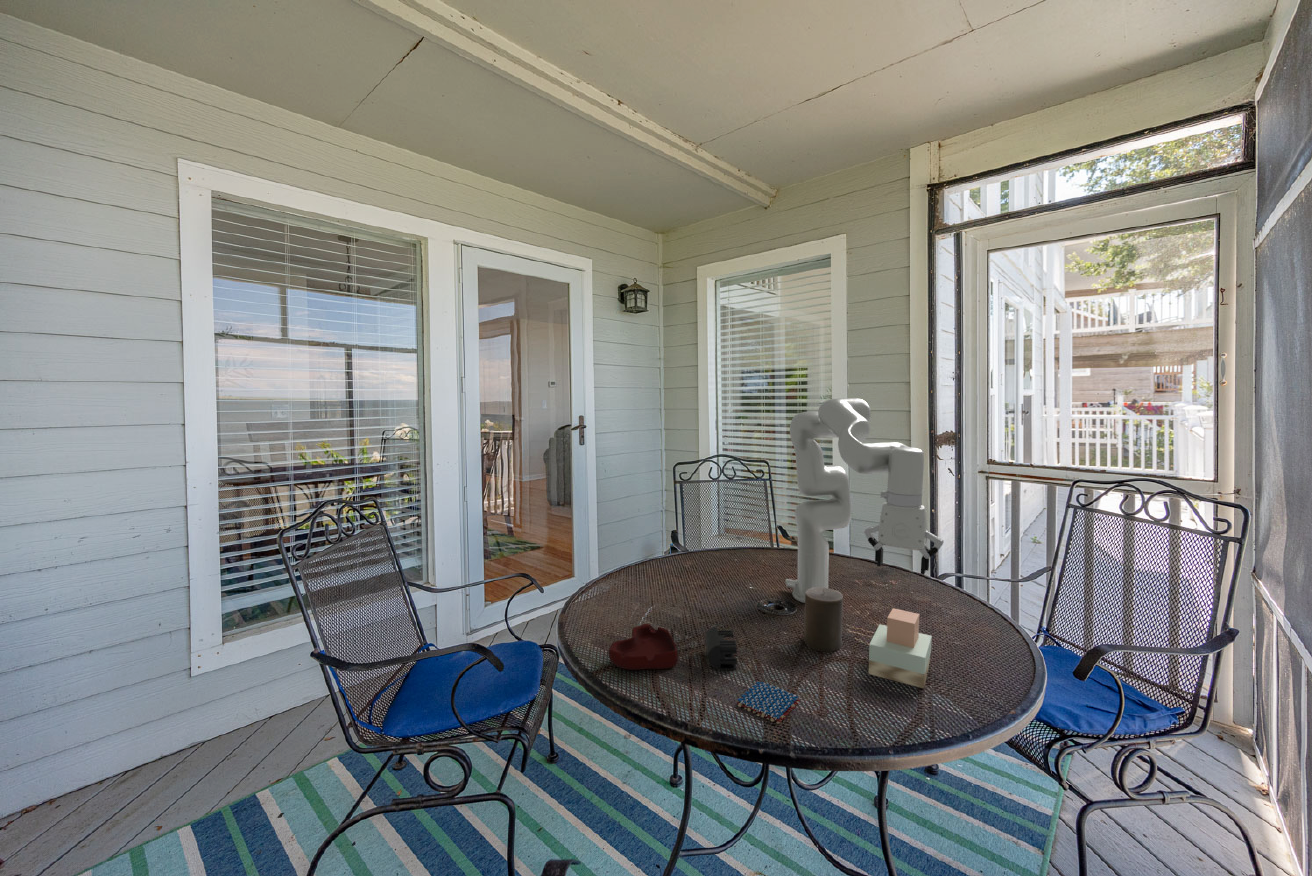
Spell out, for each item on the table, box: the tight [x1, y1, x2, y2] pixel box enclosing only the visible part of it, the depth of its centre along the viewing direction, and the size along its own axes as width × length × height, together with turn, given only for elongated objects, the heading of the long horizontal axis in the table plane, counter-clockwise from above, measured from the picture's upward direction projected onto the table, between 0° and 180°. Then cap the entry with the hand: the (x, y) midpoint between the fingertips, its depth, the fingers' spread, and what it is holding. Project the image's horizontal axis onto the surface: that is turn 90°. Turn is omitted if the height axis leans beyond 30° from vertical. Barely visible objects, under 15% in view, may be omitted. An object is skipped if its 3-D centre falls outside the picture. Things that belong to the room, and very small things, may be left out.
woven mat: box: [736, 681, 800, 725], centre depth 118 cm, size 10×11×2 cm
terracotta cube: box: [886, 607, 920, 648], centre depth 130 cm, size 6×6×6 cm
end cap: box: [704, 626, 738, 671], centre depth 136 cm, size 10×7×7 cm
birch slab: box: [868, 656, 931, 689], centre depth 131 cm, size 12×12×4 cm
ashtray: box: [607, 623, 679, 671], centre depth 137 cm, size 18×16×5 cm
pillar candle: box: [803, 587, 844, 653], centre depth 143 cm, size 10×10×15 cm
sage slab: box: [868, 623, 933, 674], centre depth 130 cm, size 12×12×4 cm
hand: (901, 568), depth 129 cm, fingers open, 9 cm apart
